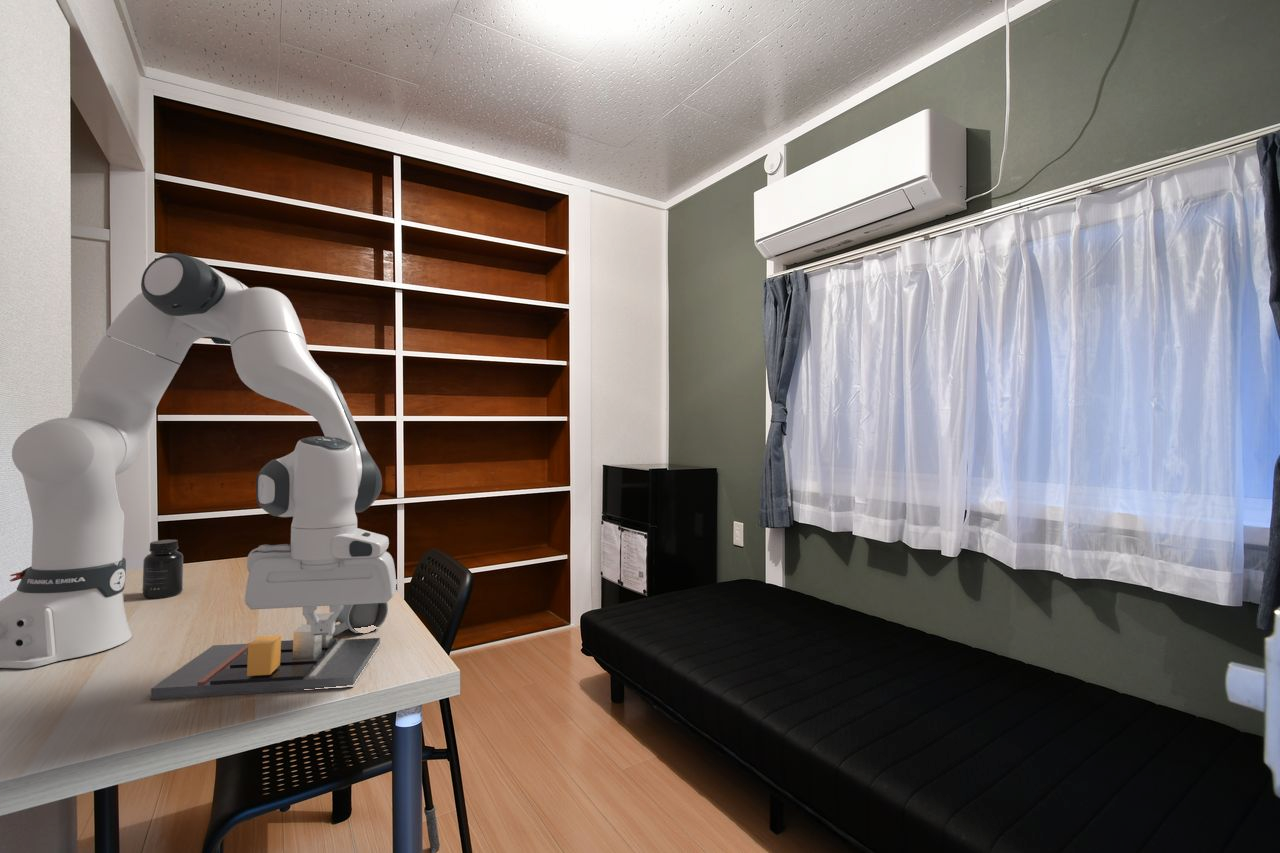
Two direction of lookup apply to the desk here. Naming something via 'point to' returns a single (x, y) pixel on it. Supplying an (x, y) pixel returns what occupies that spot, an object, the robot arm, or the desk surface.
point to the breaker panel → (299, 669)
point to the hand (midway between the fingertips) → (322, 633)
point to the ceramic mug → (361, 616)
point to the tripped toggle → (264, 655)
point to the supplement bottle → (163, 570)
